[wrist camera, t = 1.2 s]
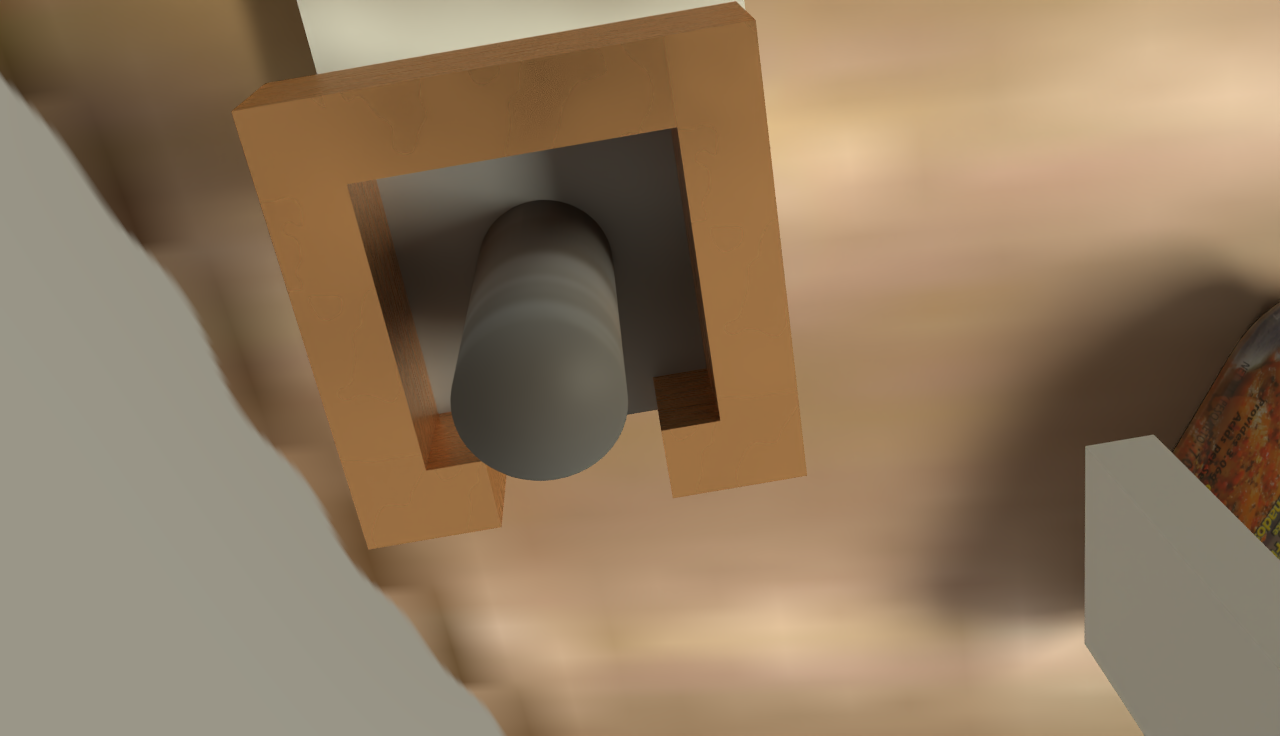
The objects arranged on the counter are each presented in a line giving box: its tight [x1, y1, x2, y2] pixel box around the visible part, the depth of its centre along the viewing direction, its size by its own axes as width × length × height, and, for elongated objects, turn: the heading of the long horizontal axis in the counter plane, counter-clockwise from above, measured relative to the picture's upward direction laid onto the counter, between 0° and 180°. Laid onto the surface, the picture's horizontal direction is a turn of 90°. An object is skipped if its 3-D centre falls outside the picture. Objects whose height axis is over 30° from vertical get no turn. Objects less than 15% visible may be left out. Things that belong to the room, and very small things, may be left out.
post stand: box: [297, 0, 745, 481], centre depth 26 cm, size 12×12×18 cm
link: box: [231, 1, 807, 549], centre depth 23 cm, size 9×9×2 cm
